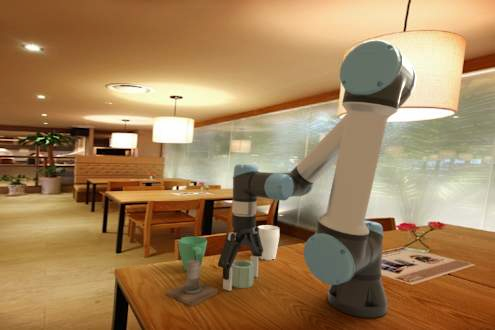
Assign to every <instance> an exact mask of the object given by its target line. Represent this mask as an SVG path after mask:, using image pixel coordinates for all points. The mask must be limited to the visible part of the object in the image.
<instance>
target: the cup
mask: <svg viewBox="0 0 495 330" xmlns="http://www.w3.org/2000/svg"><path fill="white" fill-rule="evenodd" d="M257 227H259V236H260V240H261V244H262V247H263V253H262V256H261V257H260V256H259V259H261V260H263V259H265V260H264V261H273V260H272V259H274V260H275V259H276V257H277V253H278V252H277V251H278V249H279V248H278V246H279V241H280V227H278V226H277V225H271V224H270V225H269V224H265V225H264V224H262V225H258V226H257Z"/></svg>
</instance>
